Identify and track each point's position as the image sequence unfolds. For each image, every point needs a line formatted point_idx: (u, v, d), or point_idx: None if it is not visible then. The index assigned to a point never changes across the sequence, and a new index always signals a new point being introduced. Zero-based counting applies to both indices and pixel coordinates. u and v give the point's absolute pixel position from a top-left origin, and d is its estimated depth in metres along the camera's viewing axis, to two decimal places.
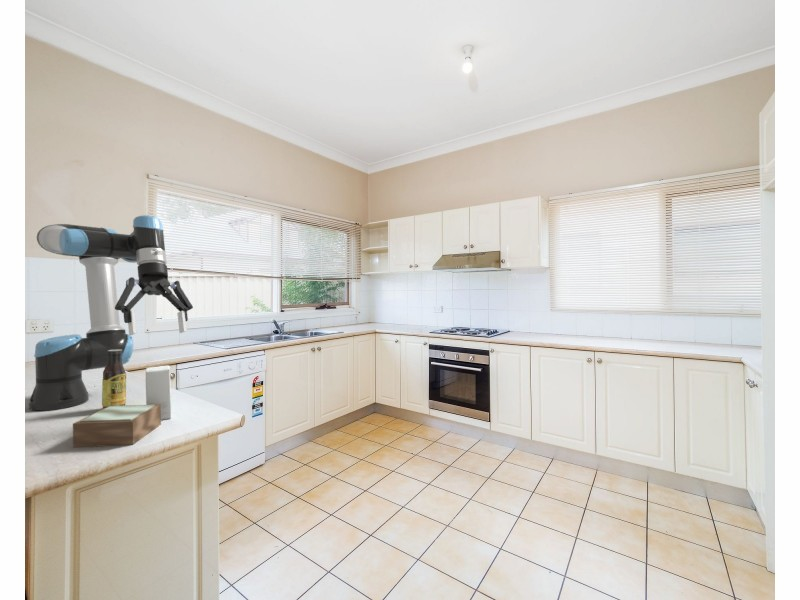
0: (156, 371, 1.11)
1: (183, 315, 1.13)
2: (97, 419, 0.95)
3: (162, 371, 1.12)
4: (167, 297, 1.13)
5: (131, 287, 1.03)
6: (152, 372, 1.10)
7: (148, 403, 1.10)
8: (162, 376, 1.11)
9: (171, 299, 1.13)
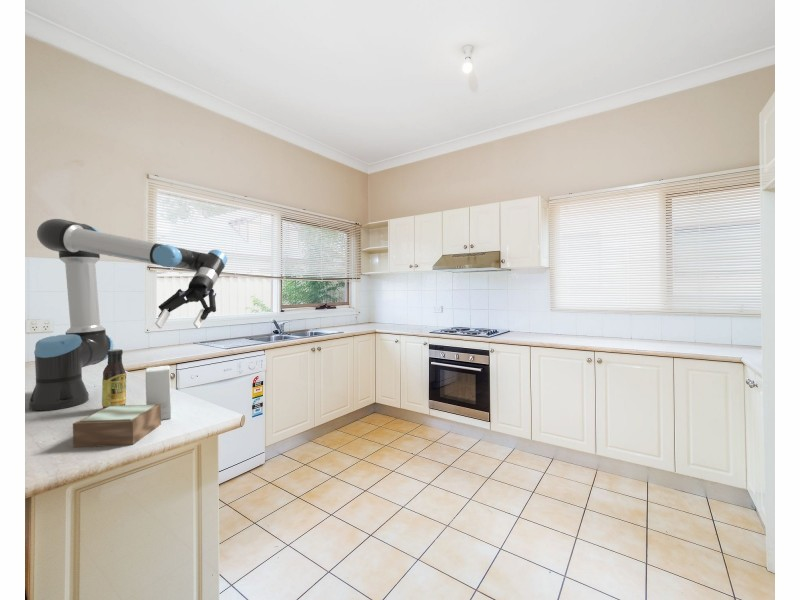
0: (156, 371, 1.11)
1: None
2: (97, 419, 0.95)
3: (162, 371, 1.12)
4: (181, 300, 1.31)
5: None
6: (152, 372, 1.10)
7: (148, 403, 1.10)
8: (162, 376, 1.11)
9: (179, 304, 1.31)
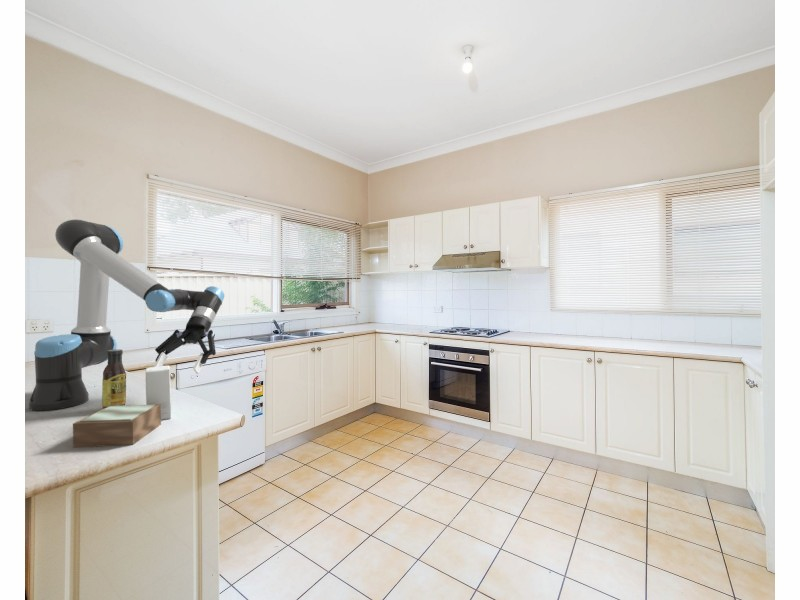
0: (156, 371, 1.11)
1: None
2: (97, 419, 0.95)
3: (162, 371, 1.12)
4: (179, 342, 1.28)
5: None
6: (152, 372, 1.10)
7: (148, 403, 1.10)
8: (161, 376, 1.11)
9: (177, 346, 1.28)
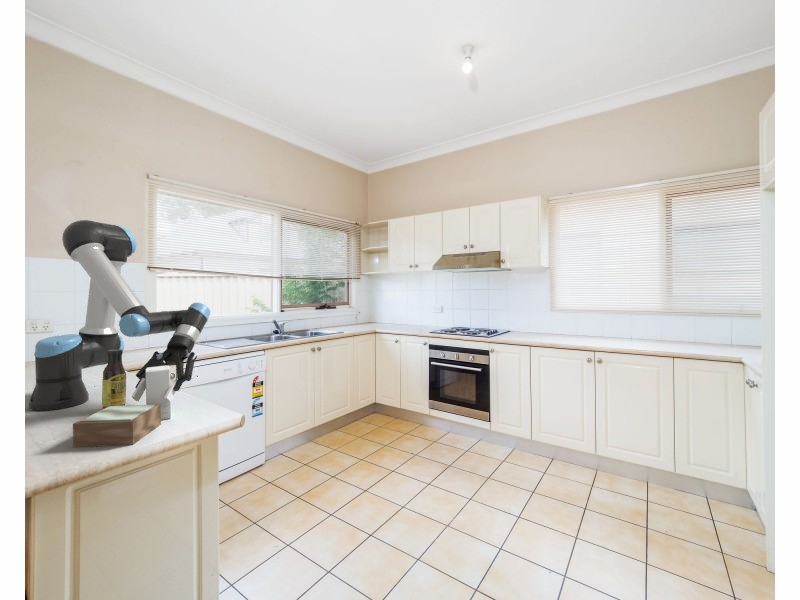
0: (156, 371, 1.11)
1: None
2: (97, 419, 0.95)
3: (162, 371, 1.12)
4: (160, 365, 1.19)
5: None
6: (152, 372, 1.10)
7: (148, 403, 1.10)
8: (161, 376, 1.11)
9: None
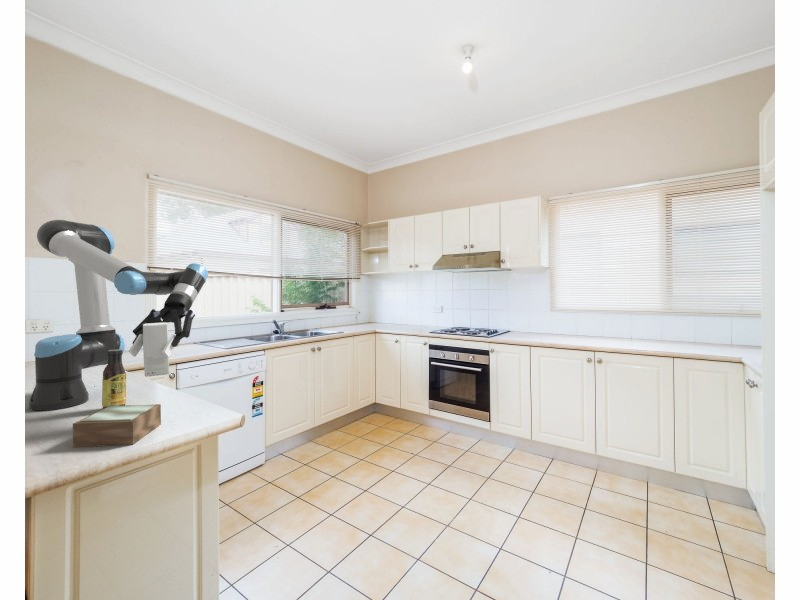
0: (154, 325, 1.09)
1: None
2: (97, 419, 0.95)
3: (160, 326, 1.10)
4: (158, 322, 1.17)
5: None
6: (149, 326, 1.08)
7: (146, 357, 1.08)
8: (159, 331, 1.10)
9: None
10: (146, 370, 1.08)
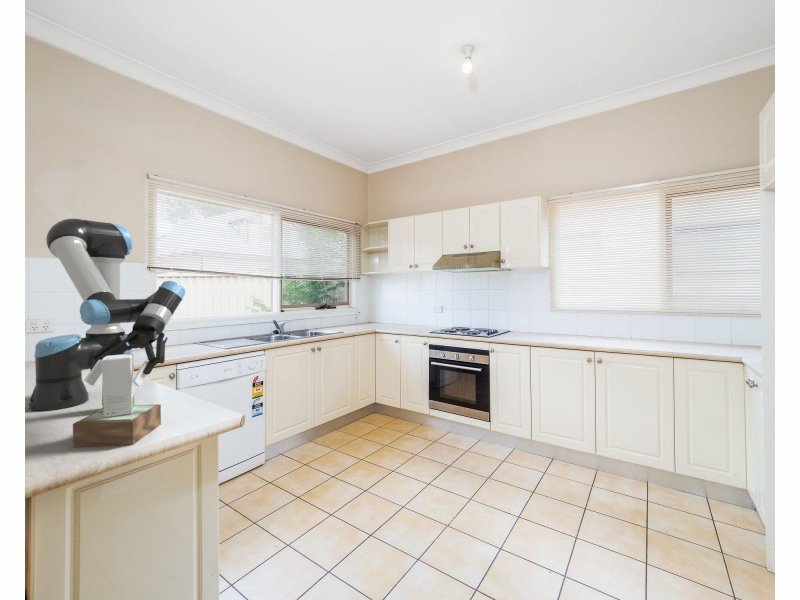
0: (114, 359, 0.96)
1: None
2: (97, 419, 0.95)
3: (121, 359, 0.97)
4: (122, 347, 1.05)
5: None
6: (109, 360, 0.96)
7: (105, 396, 0.95)
8: (121, 365, 0.97)
9: (120, 351, 1.05)
10: (105, 410, 0.95)
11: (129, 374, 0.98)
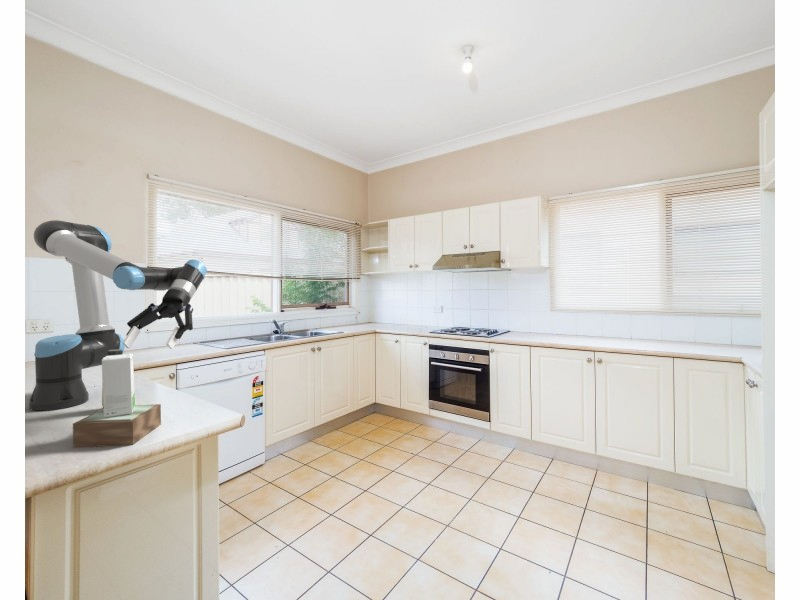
0: (114, 359, 0.96)
1: None
2: (97, 419, 0.95)
3: (121, 359, 0.97)
4: (153, 316, 1.18)
5: None
6: (109, 360, 0.96)
7: (105, 396, 0.95)
8: (121, 365, 0.97)
9: (151, 320, 1.18)
10: (105, 410, 0.95)
11: (129, 374, 0.98)
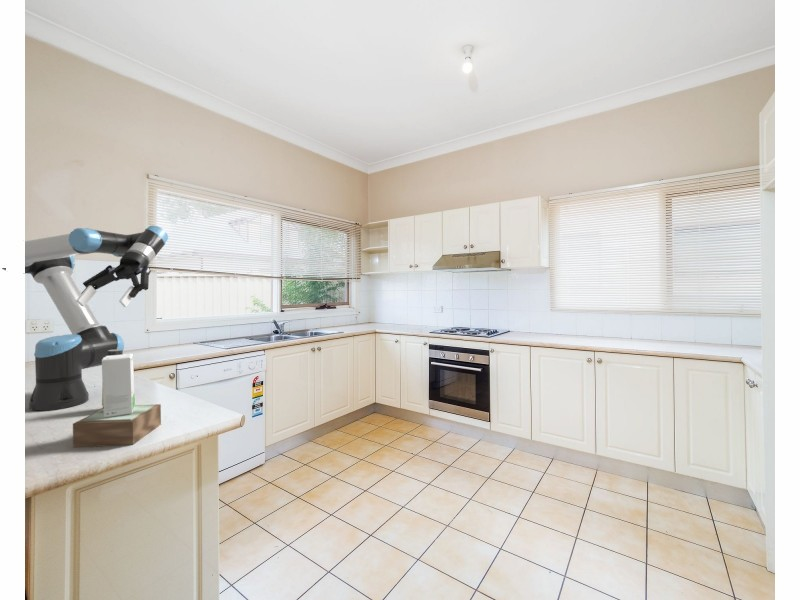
0: (114, 359, 0.96)
1: None
2: (97, 419, 0.95)
3: (121, 359, 0.97)
4: (110, 277, 1.19)
5: None
6: (109, 360, 0.96)
7: (105, 396, 0.95)
8: (121, 365, 0.97)
9: (108, 281, 1.19)
10: (105, 410, 0.95)
11: (129, 374, 0.98)
